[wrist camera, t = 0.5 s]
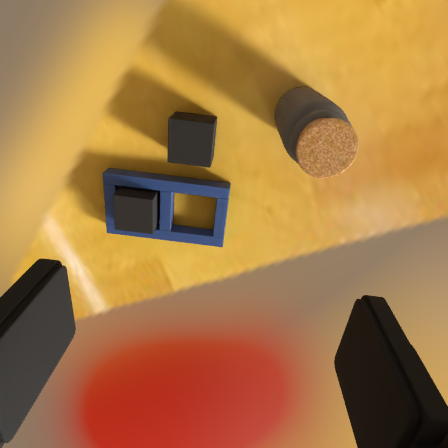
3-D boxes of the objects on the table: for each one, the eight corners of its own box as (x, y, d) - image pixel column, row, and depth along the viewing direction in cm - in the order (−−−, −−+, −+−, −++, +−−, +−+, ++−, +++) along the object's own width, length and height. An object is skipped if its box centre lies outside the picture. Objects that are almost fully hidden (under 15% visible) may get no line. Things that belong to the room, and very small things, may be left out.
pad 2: (175, 111, 39) (168, 118, 36) (217, 116, 39) (214, 123, 36) (174, 152, 42) (167, 162, 38) (213, 157, 42) (210, 167, 38)
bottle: (293, 148, 40) (316, 198, 27) (264, 110, 38) (273, 145, 25) (335, 116, 38) (381, 153, 25) (305, 74, 36) (339, 92, 23)
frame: (108, 167, 43) (102, 172, 41) (230, 182, 43) (229, 188, 41) (112, 225, 47) (106, 232, 46) (223, 239, 47) (222, 247, 46)
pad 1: (123, 182, 44) (112, 194, 40) (160, 187, 44) (153, 199, 40) (124, 215, 46) (114, 229, 43) (159, 220, 46) (152, 234, 43)
